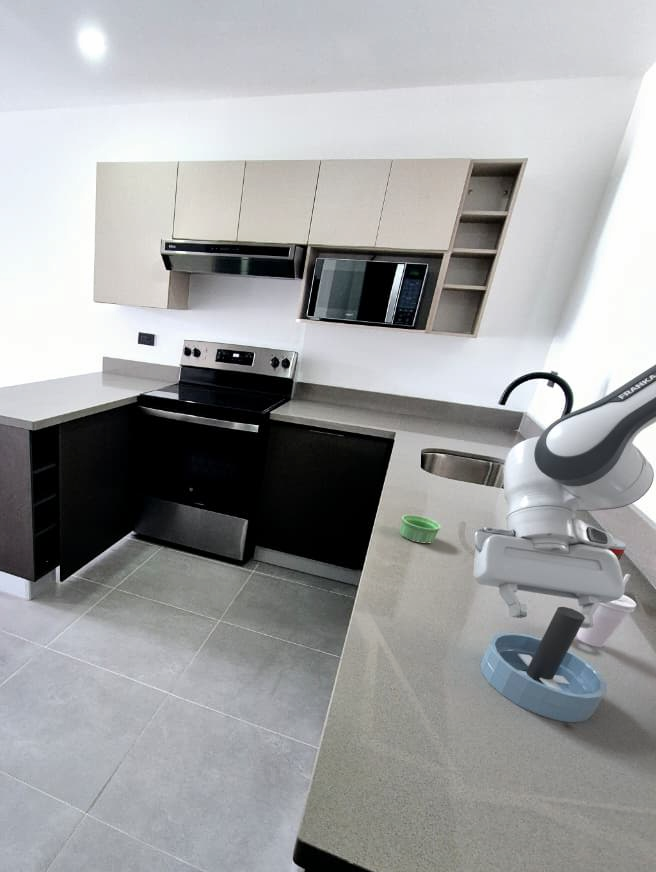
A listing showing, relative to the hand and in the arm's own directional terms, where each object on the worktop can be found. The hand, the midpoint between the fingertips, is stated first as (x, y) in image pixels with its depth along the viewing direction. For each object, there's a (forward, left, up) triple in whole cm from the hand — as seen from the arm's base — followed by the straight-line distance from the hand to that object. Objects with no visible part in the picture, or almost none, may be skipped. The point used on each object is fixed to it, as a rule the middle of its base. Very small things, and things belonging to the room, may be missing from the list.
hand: (551, 622), depth 73 cm
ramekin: (+14, -52, -11) cm, 55 cm away
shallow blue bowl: (-1, +2, -10) cm, 11 cm away
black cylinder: (-1, +2, -10) cm, 10 cm away
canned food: (-21, -49, -11) cm, 54 cm away
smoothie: (-14, -19, -11) cm, 25 cm away
